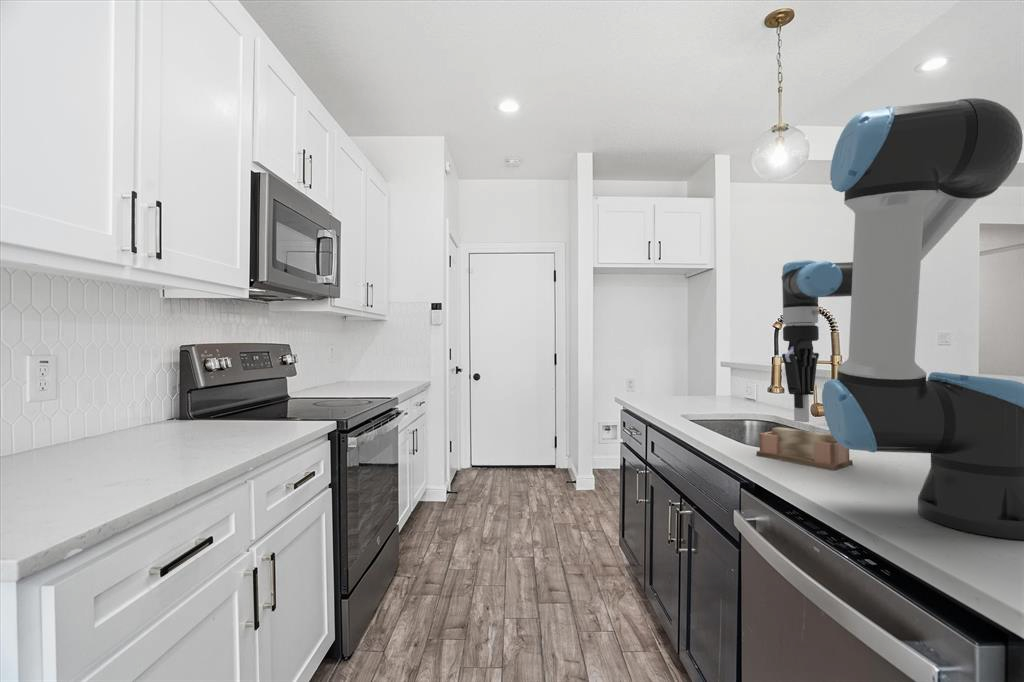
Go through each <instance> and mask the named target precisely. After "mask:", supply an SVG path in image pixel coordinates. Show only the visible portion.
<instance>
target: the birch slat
mask: <svg viewBox="0 0 1024 682" xmlns="http://www.w3.org/2000/svg"><path fill="white" fill-rule="evenodd" d="M771 431H772V435H778V436H779V453H782V454H787V455H793V456H799V457H804V458H810V459H814V442H816V441H818V442H825V443H831V444H833V443H838V442H837V441H836V440H835V439H834V437H833V436H832V434H831V433H825V432H819V431H818V432H817V431H812V430H811V431H810V430H802V429H795V428H789V427H788V428H787V427H781V426H776V427H772V428H771Z"/></svg>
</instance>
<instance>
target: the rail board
mask: <svg viewBox="0 0 1024 682" xmlns="http://www.w3.org/2000/svg"><path fill="white" fill-rule="evenodd" d="M755 454H756V456H757V457H761V458H762V457H763V458H767V459H771V460H772V459H773V460H777V461H784V462H787V463H793V464H798V465H804V466H809V467H810V466H811V467H814V468H821V469H825V470H828V471H829V470H830V471H837V470H840V469H843V468H846V467H849V466H854V465H853V460H851V459H849V461H848V462H844V463H841V464H837V465H832V464H827V463H821V462H816V461H814V459H810V458H804V457H799V456H793V455H787V454H782V453H779V454H772V453H767V452H761V451H760V450H757V451H756V453H755Z"/></svg>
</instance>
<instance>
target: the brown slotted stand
mask: <svg viewBox="0 0 1024 682" xmlns="http://www.w3.org/2000/svg"><path fill="white" fill-rule="evenodd" d="M758 436H759V451H761V452H767V453H772V454H779V436H778V435H772V430H771V431H766V432H760V433H759V435H758ZM849 460H850V449H847V448H845V447H843V446H841V445H840V444H839V443H833V444H831V443H825V442H818V441H816V442H814V461H816V462H821V463H827V464H832V465H837V464H841V463H844V462H848V461H849Z"/></svg>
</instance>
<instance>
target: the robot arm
mask: <svg viewBox="0 0 1024 682" xmlns="http://www.w3.org/2000/svg"><path fill="white" fill-rule="evenodd" d="M1023 141H1024V136H1023V130H1022V127H1021V124H1020V121H1019V120H1018V118H1017V117H1016V116H1015V114H1014V113H1013V112H1012V111H1010V109H1009V108H1008V107H1006V106H1004V105H1002V104H1001V103H999V102H996V101H993V100H989V99H985V98H975V97H974V98H961V99H957V100H951V101H950V100H948V101H940V102H929V103H920V104H917V103H916V104H907V105H897V106H892V105H891V106H886V107H884V108H879V109H874V110H873V109H872V110H867V111H863V112H860V113H859V114H857V115H855V116H853V117H852V118H851V119H850V120H849V121H848V122H847V124H846V125H845V127H843V130H842V131H841V133H840V135H839V138H838V140H837V142H836V145H835V147H834V148H835V149H834V151H833V155H832V158H831V165H830V174H829V175H830V176H829V178H830V181H831V183H830V185H831V187H832V189H833V190H834V191H836V192H839V193H843V192H844V199H843V201H844V203H843V204H844V205H845V206H846V207H847V208H849V209H850V210H851V211H852V212H853V213H854V228H853V229H854V231H853V233H854V234H853V250H852V252H853V253H852V255H853V256H852V262H830V261H827V260H821V261H815V260H811V259H810V260H806V259H805V260H794V261H791V262H789V261H788V262H786V263H785V264H783V266H782V271H781V272H782V274H781V281H782V284H781V285H782V288H781V289H782V324H783V325H785V326H783V327H782V339H783V341H785V342H788V346H787V352H786V353H782V354H781V358H782V360H783V363H784V370H785V378H786V383H787V384H786V385H787V392H788V393H789V395H793V409H794V410H793V414H794V415H793V416H794V419H793V421H794V422H800V423H809V422H810V404H809V402H810V400H809V399H810V398H809V397H810V395H811V396H813V395H814V391H815V383H816V374H817V373H816V372H817V364H818V360H819V356H820V354H819V353H818V352H814V345H813V342H816V341H819V335H820V333H819V326H818V325H816V324H818V323H819V314H821V312H820V310H819V298H839V297H840V298H841V297H851V299H850V322H849V339H848V340H849V345H848V358H847V359H846V360H845V361H843V362H842V363H841V364H840V365H839V366H837V371H836V372H837V373H836V378H832V379H829V380H827V381H826V382H824V384H823V388H822V392H821V402H822V410H823V416H824V418H825V419H824V420H825V421H826V424H827V428H828V429H829V432H830V434H832V436H833V437H834V439H835V440H836V441H837V442H838V443H839V444H840V445H841V446H843V447H845V448H847V449H849V450H853V451H864V452H869V453H876V452H880V453H881V452H882V453H905V454H907V453H909V454H930V469H929V470H928V473H927V475H926V477H925V479H924V482H923V485H922V487H921V489H920V492H919V495H918V496H917V497H918V498H917V512H918V515H920V516H922V517H923V518H925V519H927V520H929V521H932V522H934V523H937V524H939V525H942V526H946V527H948V528H951V529H955V530H958V531H963V532H968V533H972V534H976V535H983V536H986V537H987V536H988V537H994V538H999V539H1000V538H1002V539H1010V540H1024V383H1022V382H1021V381H1017V380H1012V379H1003V378H997V377H996V378H994V377H985V376H976V375H967V374H957V373H949V372H939V371H938V372H936V371H932V372H930V373H929V376H928V377H927V371H925V370H924V369H923V368H921V367H920V366H919V364H917V362H916V359H915V357H916V345H917V330H918V329H917V326H918V314H919V313H918V311H919V310H918V309H919V297H920V296H919V294H920V280H921V264H922V263H921V261H923V259H924V258H925V257H926V256H927V255H928V254H929V253H930V252H931V251H932V250H933V248H935V247H936V245H937V244H938V243H939V242H940V241H941V240H942V239H943V238H944V236H945V235H946V234H947V233H949V231H950V230H951V229H952V228H953V227H954V225H956V224H957V222H958V221H959V220H960V219H962V217H964V215H965V214H966V213H967V211H969V209H970V208H971V207H972V206H973V205H974V204H975V203H976V202H977V201H978V200H980V199H983V198H986V197H988V196H990V195H992V194H994V192H996V191H997V190H998V189H999V187H1001V186H1002V184H1003V183H1004V182H1005V181H1007V179H1008V178H1009V177H1010V175H1011V174H1012V173H1013V171H1014V170H1015V168H1016V166H1017V164H1018V162H1019V160H1020V158H1021V157H1020V156H1021V154H1022V151H1023Z"/></svg>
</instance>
